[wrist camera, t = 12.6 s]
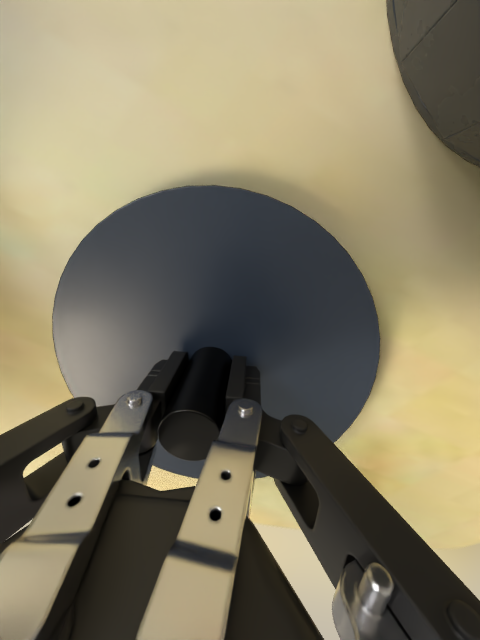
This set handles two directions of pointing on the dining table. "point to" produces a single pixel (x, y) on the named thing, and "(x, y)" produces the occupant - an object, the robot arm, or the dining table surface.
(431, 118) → the pot
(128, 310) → the lid
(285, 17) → the dining table surface
